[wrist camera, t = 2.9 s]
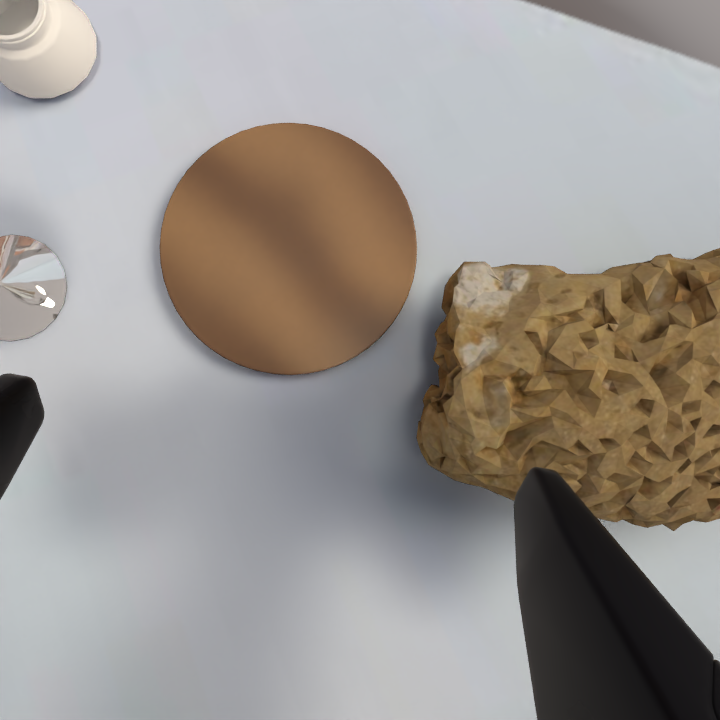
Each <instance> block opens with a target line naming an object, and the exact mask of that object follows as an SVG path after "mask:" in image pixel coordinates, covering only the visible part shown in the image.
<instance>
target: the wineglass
mask: <svg viewBox="0 0 720 720" xmlns="http://www.w3.org/2000/svg"><path fill="white" fill-rule="evenodd" d="M66 288H67V285H66V278H65V272H64V269H63V267H62V265H61V263H60V261H59V259H58V258H57V256H56V255H55V254H54V253H53V252H52V251H51V250H50V249H49V248H48V247H47V246H46V245H45V244H43V243H41V242H39V241H36V240H34V239H32V238H30V237H25V236H17V235H8V236H2V237H0V340H6V341H15V340H20V339H26V338H29V337H31V336H33V335H35V334H37V333H39V332H41V331H43V330H44V329H45V328H46V327H47V326H48V325H49V324H50V323H51V322H52V321H53V320H55V319H56V317H57V315H58V313H59V311H60V310H61V308H62V306H63V304H64V300H65V294H66Z"/></svg>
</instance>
